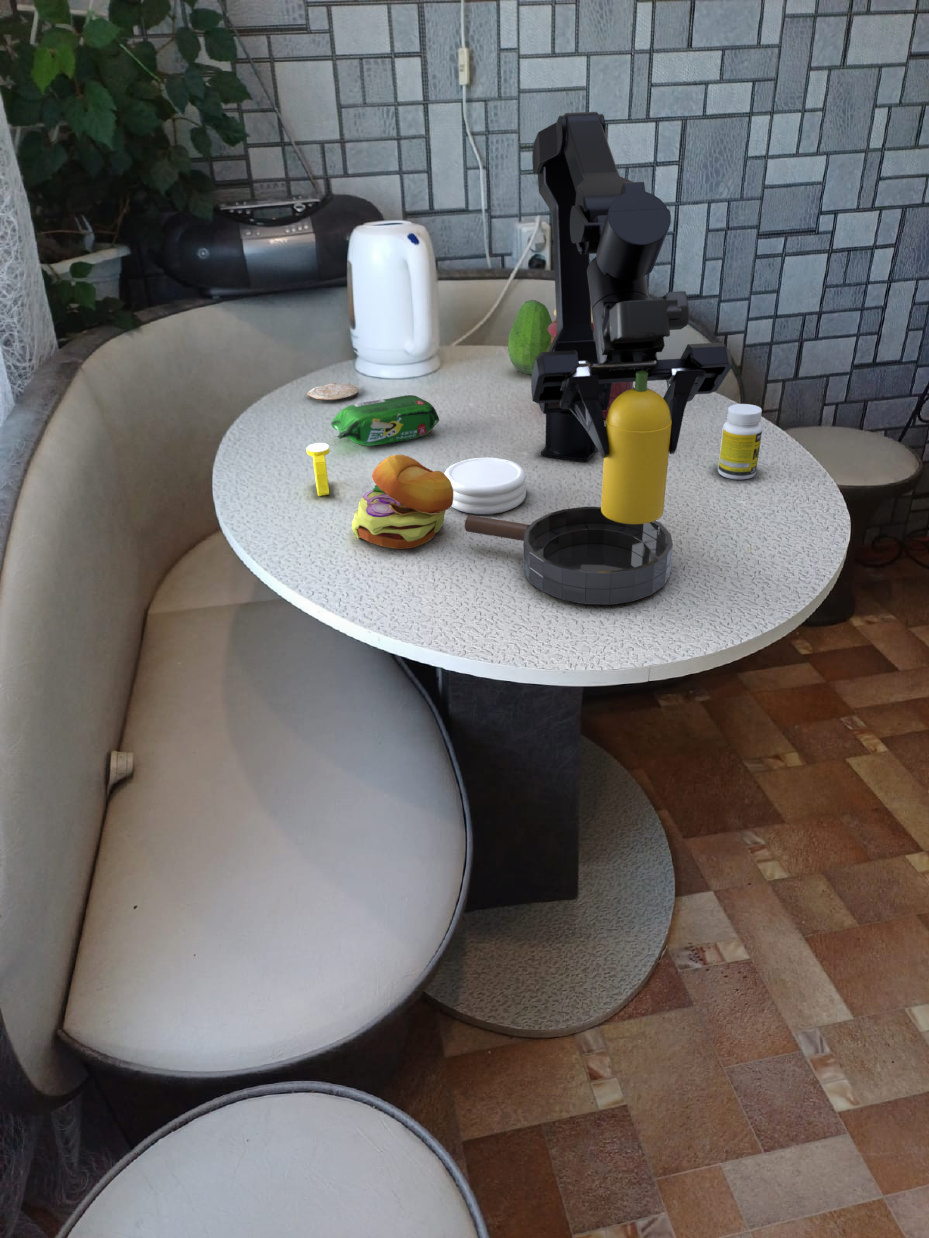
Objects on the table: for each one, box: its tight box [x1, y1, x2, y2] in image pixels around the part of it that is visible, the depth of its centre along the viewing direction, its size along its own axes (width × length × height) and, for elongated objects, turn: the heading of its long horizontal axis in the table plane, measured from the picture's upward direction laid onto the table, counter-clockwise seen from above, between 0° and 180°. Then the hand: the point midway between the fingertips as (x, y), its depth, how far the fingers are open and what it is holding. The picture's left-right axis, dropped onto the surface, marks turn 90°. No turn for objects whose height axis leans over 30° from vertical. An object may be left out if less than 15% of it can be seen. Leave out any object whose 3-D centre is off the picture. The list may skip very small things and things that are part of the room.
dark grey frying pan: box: [522, 506, 674, 606], centre depth 97 cm, size 15×15×4 cm
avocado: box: [507, 299, 553, 376], centre depth 153 cm, size 8×8×12 cm
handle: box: [464, 514, 530, 542], centre depth 100 cm, size 7×2×2 cm, turn 66°
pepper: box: [600, 371, 672, 524], centre depth 90 cm, size 6×6×14 cm
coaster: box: [443, 457, 527, 515], centre depth 113 cm, size 10×10×4 cm
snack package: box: [330, 394, 440, 447], centre depth 131 cm, size 7×16×5 cm, turn 115°
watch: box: [305, 442, 331, 497], centre depth 116 cm, size 6×3×6 cm, turn 11°
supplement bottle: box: [717, 403, 763, 480], centre depth 116 cm, size 5×5×8 cm
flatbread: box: [306, 382, 360, 401], centre depth 149 cm, size 8×8×1 cm
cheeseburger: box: [351, 454, 453, 550], centre depth 105 cm, size 10×11×10 cm
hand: (639, 454), depth 89 cm, fingers closed on pepper, 6 cm apart
